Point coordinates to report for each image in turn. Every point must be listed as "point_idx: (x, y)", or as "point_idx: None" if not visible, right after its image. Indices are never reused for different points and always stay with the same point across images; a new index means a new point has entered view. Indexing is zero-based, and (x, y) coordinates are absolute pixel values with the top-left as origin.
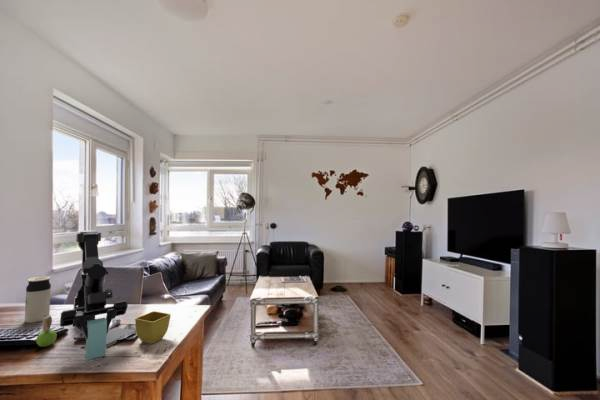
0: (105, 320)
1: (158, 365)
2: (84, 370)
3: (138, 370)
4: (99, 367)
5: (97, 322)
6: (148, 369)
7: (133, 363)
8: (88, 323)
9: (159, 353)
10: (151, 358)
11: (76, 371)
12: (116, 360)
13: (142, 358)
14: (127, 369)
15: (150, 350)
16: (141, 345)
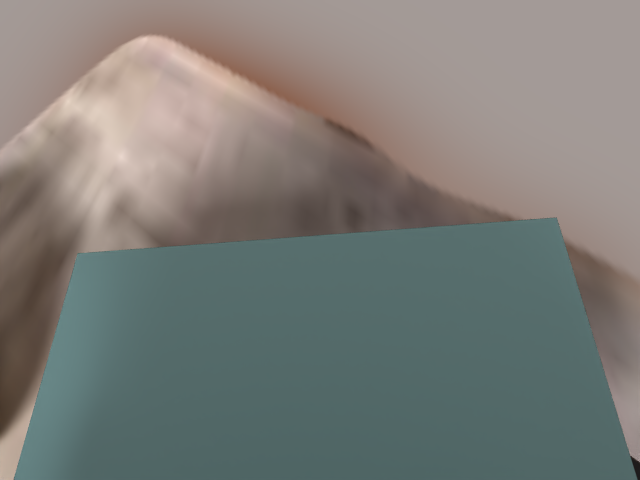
0: (50, 426)
1: (107, 62)
2: (443, 201)
3: (192, 61)
4: (353, 190)
5: (295, 375)
6: (155, 50)
7: (182, 136)
8: (616, 477)
9: (29, 176)
10: (90, 142)
11: (494, 216)
12: (245, 228)
13: (122, 167)
14: (228, 92)
15: (34, 248)
16: (20, 386)
